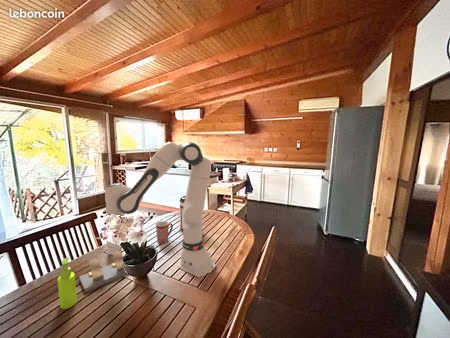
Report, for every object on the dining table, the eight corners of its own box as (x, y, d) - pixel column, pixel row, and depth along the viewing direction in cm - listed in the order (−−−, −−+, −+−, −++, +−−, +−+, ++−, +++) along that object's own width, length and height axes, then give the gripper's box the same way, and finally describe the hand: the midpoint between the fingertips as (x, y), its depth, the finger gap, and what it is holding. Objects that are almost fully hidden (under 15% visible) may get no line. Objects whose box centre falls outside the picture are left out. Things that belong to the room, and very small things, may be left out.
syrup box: (115, 255, 126) (114, 233, 124) (107, 254, 127) (106, 232, 125) (121, 250, 131) (120, 229, 129) (113, 249, 132) (112, 228, 130)
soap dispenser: (77, 295, 94) (74, 255, 91) (76, 305, 88) (72, 263, 85) (61, 300, 91) (57, 258, 88) (59, 311, 85) (54, 267, 82)
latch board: (134, 270, 112) (134, 266, 111) (85, 292, 95) (84, 287, 95) (126, 261, 120) (125, 257, 120) (79, 279, 103) (79, 274, 103)
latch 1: (103, 278, 102) (103, 277, 101) (93, 282, 99) (93, 281, 98) (97, 258, 106) (98, 257, 106) (88, 262, 103) (88, 260, 102)
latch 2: (126, 268, 110) (126, 267, 109) (117, 272, 106) (118, 271, 106) (120, 250, 114) (120, 249, 113) (111, 253, 111) (112, 252, 110)
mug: (159, 245, 138) (159, 227, 136) (153, 241, 145) (153, 223, 143) (175, 240, 147) (175, 222, 145) (169, 235, 153) (169, 218, 151)
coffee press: (201, 229, 166) (201, 193, 161) (183, 234, 155) (183, 197, 151) (190, 222, 179) (190, 189, 174) (173, 226, 169) (173, 192, 164)
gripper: (129, 217, 103) (130, 242, 105) (115, 207, 117) (116, 229, 119) (116, 220, 98) (117, 247, 100) (103, 209, 112) (104, 233, 114)
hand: (116, 237), depth 109 cm, fingers open, 4 cm apart
